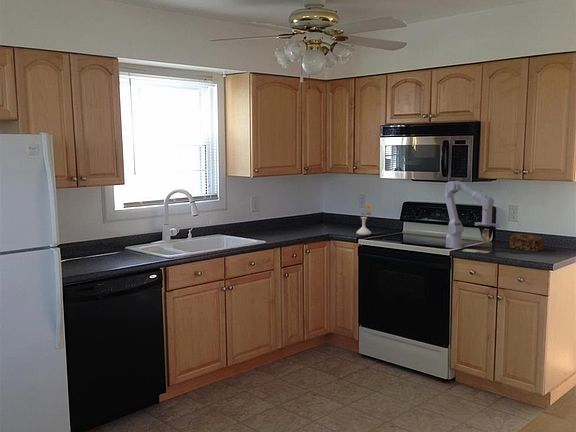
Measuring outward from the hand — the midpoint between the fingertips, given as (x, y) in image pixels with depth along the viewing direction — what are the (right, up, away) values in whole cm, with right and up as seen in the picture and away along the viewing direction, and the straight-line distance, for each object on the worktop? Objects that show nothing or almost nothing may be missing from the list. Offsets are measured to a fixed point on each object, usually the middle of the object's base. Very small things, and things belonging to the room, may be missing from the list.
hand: (486, 237), depth 353 cm
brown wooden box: (0, -3, 0) cm, 3 cm away
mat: (-9, -9, +2) cm, 13 cm away
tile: (0, -9, +1) cm, 9 cm away
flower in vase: (-67, -1, +76) cm, 101 cm away
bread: (+30, -8, +10) cm, 32 cm away
